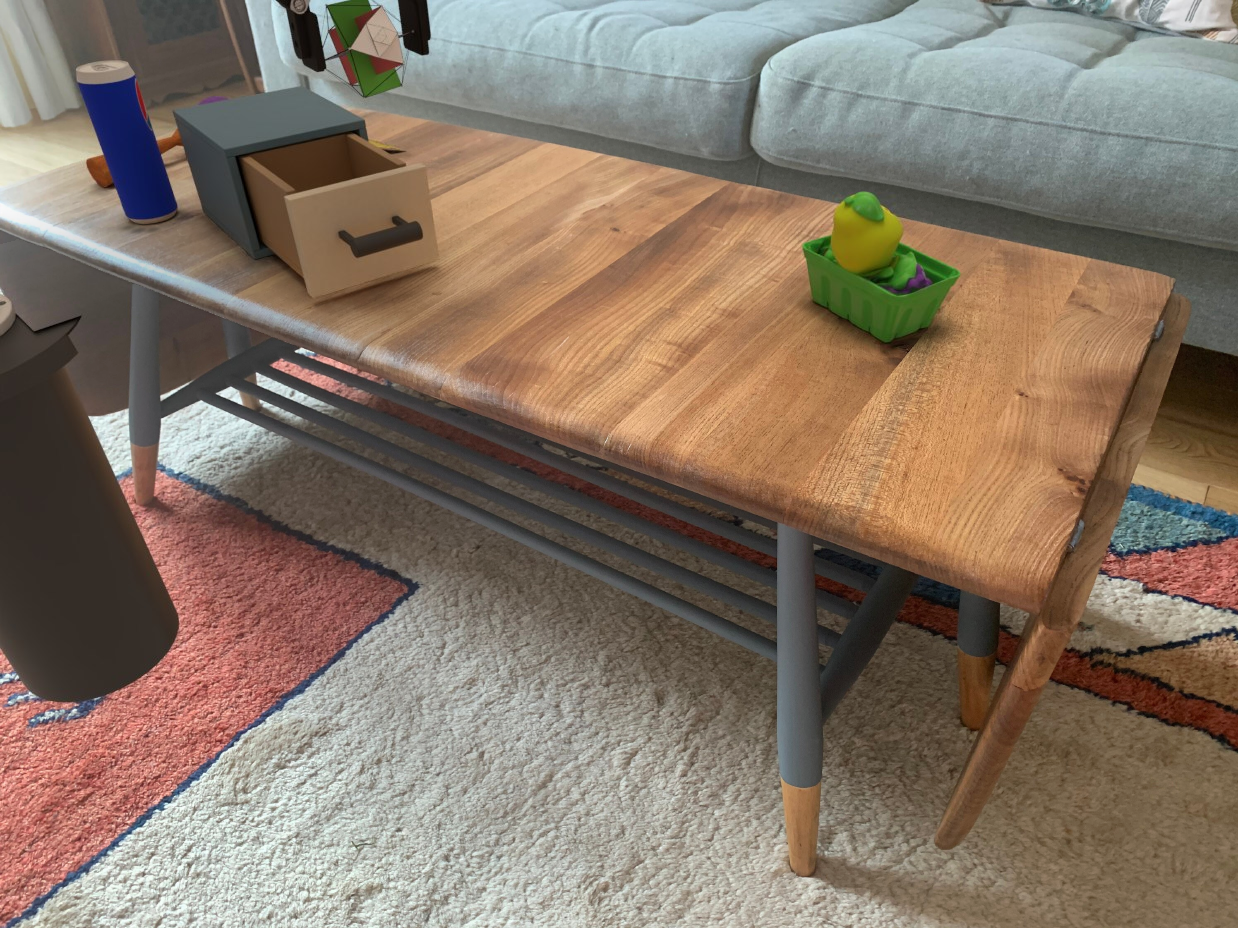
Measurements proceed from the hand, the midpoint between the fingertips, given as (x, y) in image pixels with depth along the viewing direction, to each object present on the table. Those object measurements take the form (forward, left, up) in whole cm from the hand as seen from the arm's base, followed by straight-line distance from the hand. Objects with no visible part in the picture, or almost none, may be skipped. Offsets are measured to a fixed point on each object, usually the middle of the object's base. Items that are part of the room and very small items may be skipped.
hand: (367, 58), depth 69 cm
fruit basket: (+28, -30, -20) cm, 45 cm away
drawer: (-2, +6, -18) cm, 20 cm away
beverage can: (-13, +32, -20) cm, 40 cm away
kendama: (-6, +48, -20) cm, 52 cm away
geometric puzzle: (0, 0, -3) cm, 3 cm away
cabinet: (-2, +22, -19) cm, 30 cm away
